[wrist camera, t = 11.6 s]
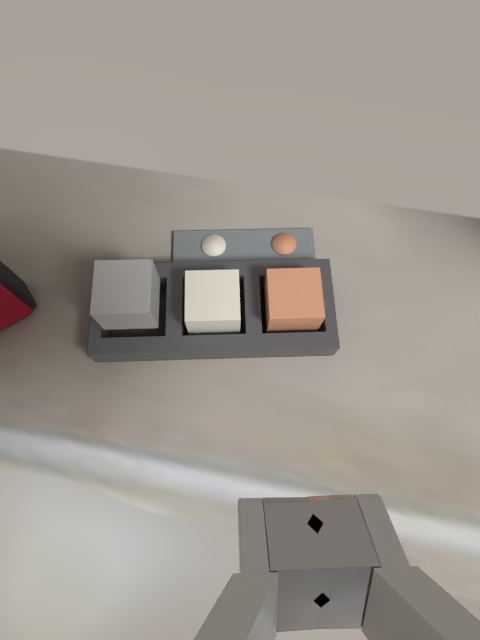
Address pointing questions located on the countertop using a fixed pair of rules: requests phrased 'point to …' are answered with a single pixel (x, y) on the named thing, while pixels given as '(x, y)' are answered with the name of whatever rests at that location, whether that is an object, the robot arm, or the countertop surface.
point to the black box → (13, 298)
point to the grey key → (125, 294)
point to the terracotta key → (293, 300)
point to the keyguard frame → (226, 344)
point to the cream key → (212, 302)
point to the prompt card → (243, 245)
